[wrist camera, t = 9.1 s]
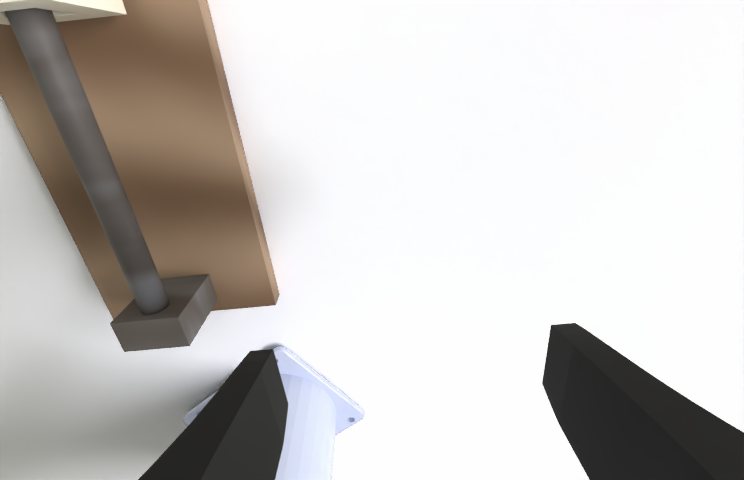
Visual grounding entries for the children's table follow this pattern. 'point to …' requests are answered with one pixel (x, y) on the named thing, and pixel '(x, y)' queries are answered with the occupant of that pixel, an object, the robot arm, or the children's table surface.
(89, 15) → the sleeve
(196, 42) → the rod board
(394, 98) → the children's table surface
